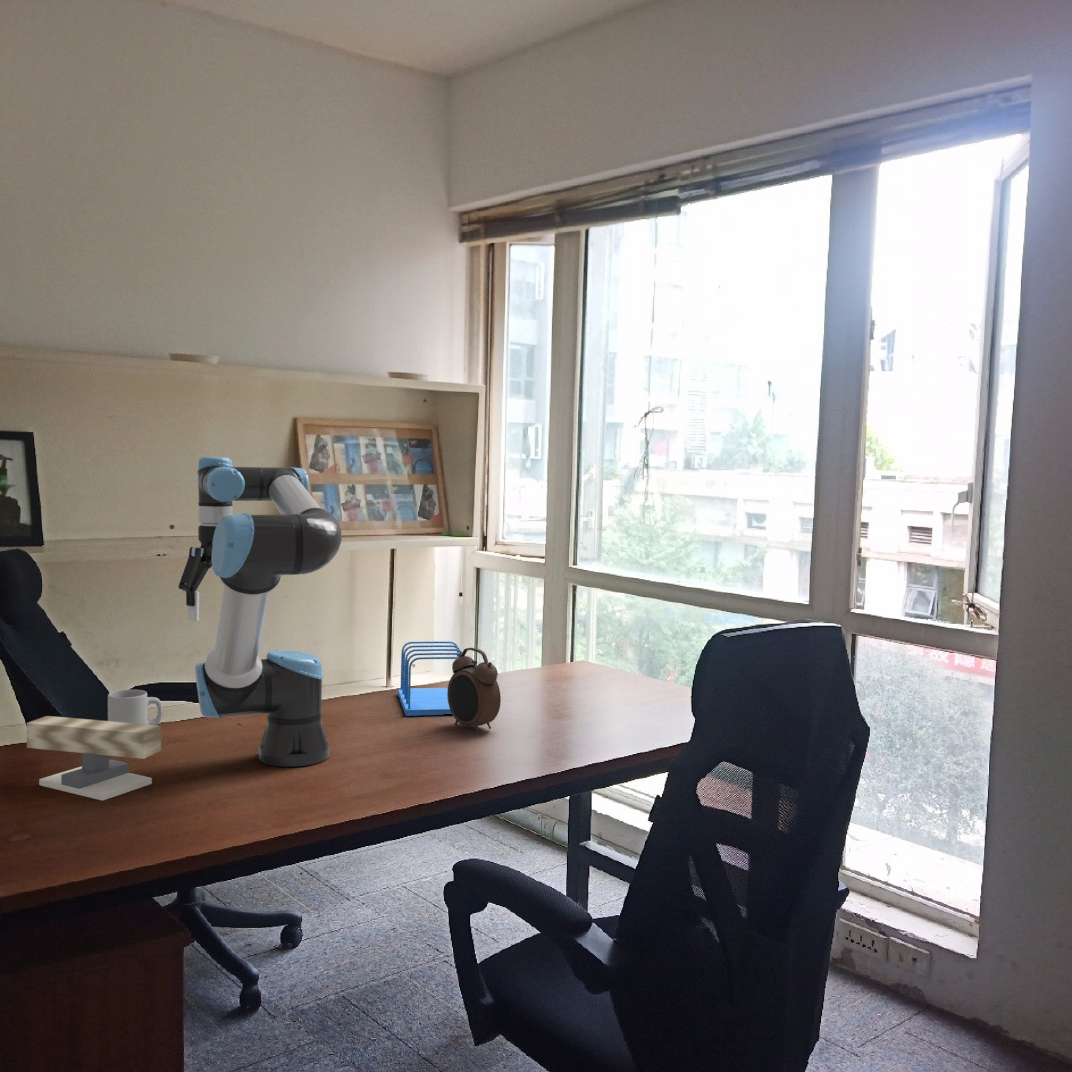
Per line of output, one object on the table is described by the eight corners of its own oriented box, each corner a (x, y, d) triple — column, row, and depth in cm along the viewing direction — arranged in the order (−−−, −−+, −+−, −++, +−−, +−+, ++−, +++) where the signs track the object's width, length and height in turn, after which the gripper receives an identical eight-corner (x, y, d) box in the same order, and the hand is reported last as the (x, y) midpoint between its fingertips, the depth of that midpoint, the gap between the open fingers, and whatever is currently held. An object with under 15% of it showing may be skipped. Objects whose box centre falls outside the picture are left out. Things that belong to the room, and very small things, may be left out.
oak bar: (161, 750, 210) (161, 725, 210) (143, 758, 205) (143, 733, 204) (47, 739, 216) (46, 715, 216) (26, 747, 210) (26, 723, 210)
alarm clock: (442, 725, 262) (443, 645, 260) (464, 720, 267) (466, 642, 265) (479, 738, 251) (481, 655, 249) (502, 732, 256) (504, 651, 254)
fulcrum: (151, 783, 212) (151, 748, 211) (102, 800, 201) (102, 763, 201) (89, 769, 220) (89, 735, 220) (39, 785, 210) (38, 749, 209)
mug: (113, 747, 236) (113, 699, 236) (103, 738, 243) (103, 692, 242) (167, 740, 244) (167, 693, 243) (156, 731, 250) (156, 686, 250)
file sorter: (473, 715, 273) (474, 657, 271) (405, 717, 269) (406, 658, 268) (459, 693, 297) (460, 639, 296) (397, 695, 293) (398, 640, 292)
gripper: (241, 520, 254) (241, 608, 256) (161, 526, 232) (161, 622, 234) (265, 522, 251) (265, 611, 252) (186, 528, 229) (186, 625, 230)
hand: (215, 616), depth 243 cm, fingers open, 13 cm apart
